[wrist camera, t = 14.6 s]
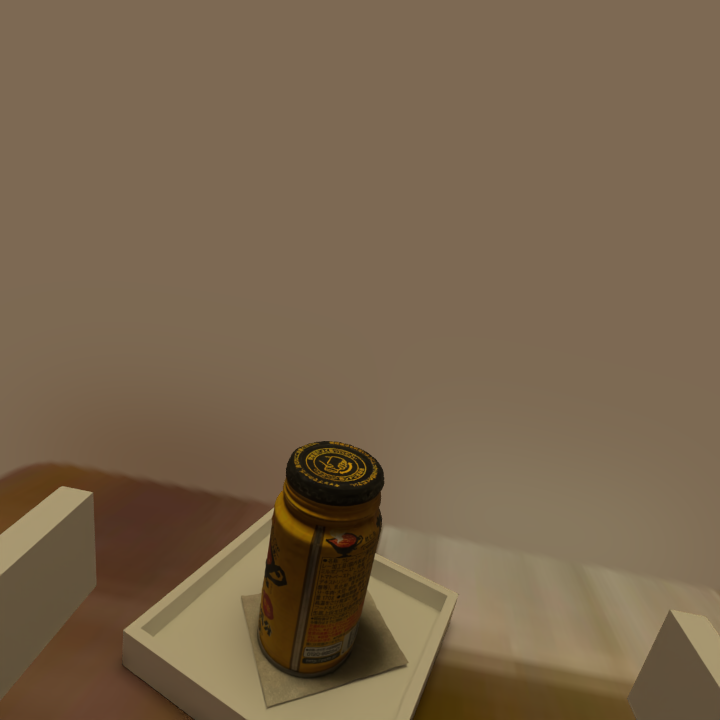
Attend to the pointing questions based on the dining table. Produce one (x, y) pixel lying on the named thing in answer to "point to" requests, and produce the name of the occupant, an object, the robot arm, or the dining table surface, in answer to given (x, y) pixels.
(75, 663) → the dining table surface
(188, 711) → the tray
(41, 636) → the robot arm
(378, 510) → the condiment
